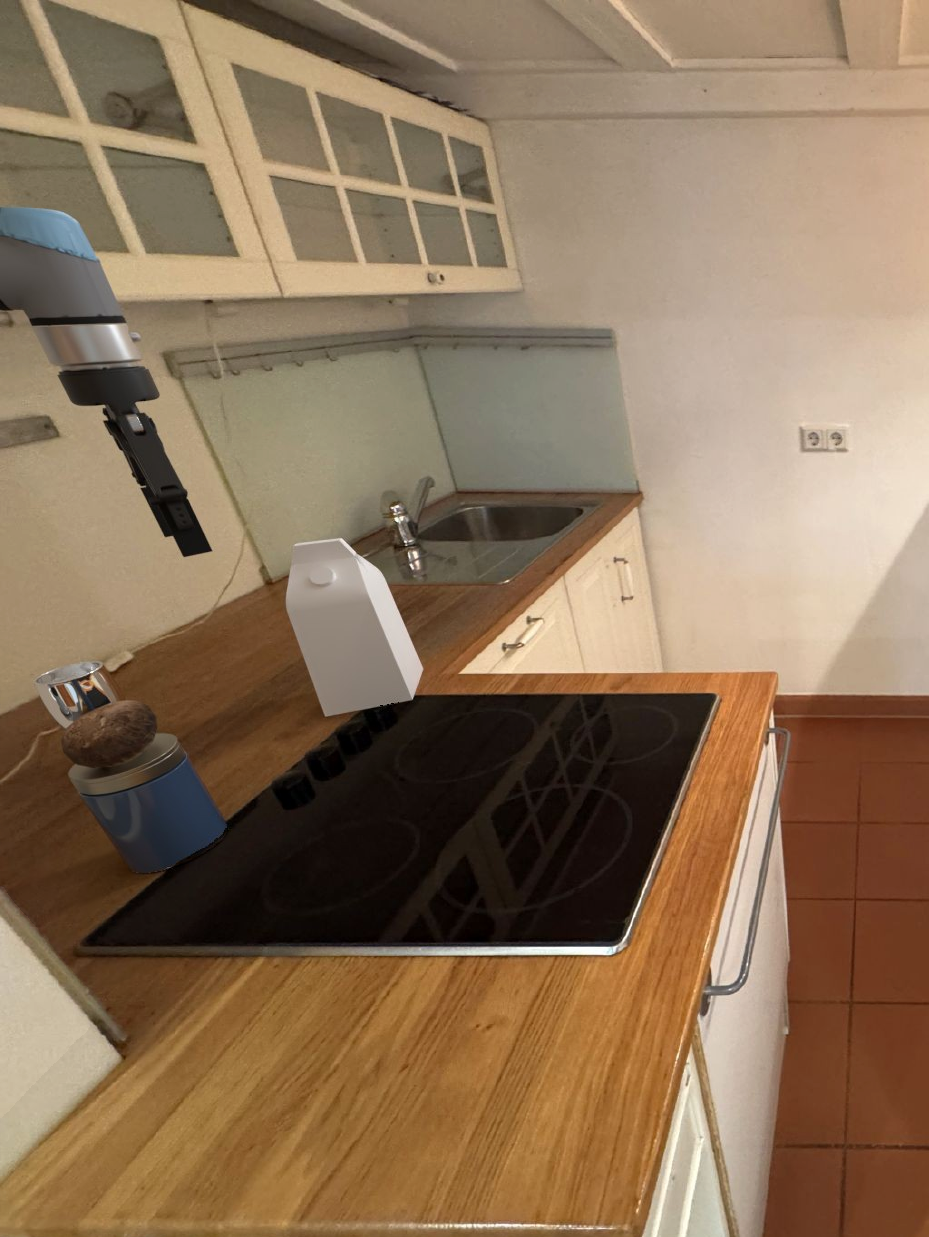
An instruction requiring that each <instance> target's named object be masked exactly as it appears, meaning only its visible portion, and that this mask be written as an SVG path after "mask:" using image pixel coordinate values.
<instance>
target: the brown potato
mask: <svg viewBox="0 0 929 1237" xmlns="http://www.w3.org/2000/svg"><path fill="white" fill-rule="evenodd" d="M157 730H158V721H157V715H156V714H155V712H154V711H153V710H152V709H151V707H150V706H149V705H147V704H145V703H143V702H140V701H137V700H134V699H126V700H125V701H117V702H112V703H109V704H107V705H104V706H102V707H99V708H97V709H95V710H93V711H91V712H88V713H86V714H84V715H82V716H80V717H78V718H77V719H76V720H75V721H74V722H73V723H72V724H70V725H69V726H68V727H67V728H66V730H64V732H63V734H62V736H61V740H60V741H61V742H60V743H61V747H62V752H63V754H64V755H65V756H66V757H67V758H68V759H69V760H70V761H71V762H72V763H74V765H75V764H77V765H80V766H85V767H90V768H104V767H112V766H115V765H119V764H122V763H125V762H128V761H131V760H132V759H134V758H135V757H137V756H139V755H140V754H142V753H143V752H144V751H145V750H146V749H147V748H148V747H149V746H150V744H151V743H152V742H153V741H154V738H155V734H157Z"/></svg>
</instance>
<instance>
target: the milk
mask: <svg viewBox="0 0 929 1237" xmlns="http://www.w3.org/2000/svg"><path fill="white" fill-rule="evenodd" d="M290 564H291V565H290V569H289V575H288V580H287V588H286V594H285V608H286V609H285V610H286V612H287V615H288V618H289V621H290V625H291V626H292V630H293V632H294V635H295V638H296V640H297V644H298V646H299V649H300V651H301V655H302V657H303V659H304V662H305V665H306V668H307V672H308V673H309V676H310V679H311V682H312V685H313V687H314V688H313V689H314V691H315V693H316V696H317V698H318V701H319V705H320V707H321V709H322V713H323V715H324V717H325V718H326V717H333V716H336V715H342V714H347V713H352V712H357V711H363V710H368V709H372V708H378V707H381V706H380V705H383V706H388V705H387V704H389V705H392V704H391V703H394V704H399V703H403V702H408V701H409V702H410V701H413V700H414V697H415V695H416V692H417V689H418V687H419V683H420V680H421V677H422V674H423V671H424V666H423V664H422V662H421V660H420V658H419V656H418V653H417V651H416V648H415V646H414V644H413V641H412V639H411V637H410V634H409V631H408V630H407V627H406V625H405V623H404V620H403V618H402V615H401V613H400V611H399V608H398V606H397V603H396V601H395V599H394V597H393V594H392V592H391V589H390V588H389V585H388V583H387V579H386V578H385V576H384V574H383V573H382V571H381V570H380V569H379V568H378V567H377V566H375V565H374V564H372V563H371V562H370V561H368V560H367V559H366V558H364V557H362V556H361V555H359V554H358V553H357V552H356V551H355V550H354V549H353V548H352V547H351V545H350V544H349V543H347V542H346V541H345V540H344V539H343V538H342V537H338V538H331V539H329V538H328V539H322V540H321V539H320V540H314V541H313V540H312V541H305V542H297V543H295V544H293V546H292V553H291V563H290ZM398 702H399V703H398Z"/></svg>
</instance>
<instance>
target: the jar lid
mask: <svg viewBox="0 0 929 1237" xmlns="http://www.w3.org/2000/svg"><path fill="white" fill-rule="evenodd" d="M184 751H185V749H184V747H183V746H182V744H181V743H180V740H179V739H178V737H177V736H175V735H174V734H172V733H165V732H163V733H160V732H159V733H156V734H155V738H154V741H153V742H152V743H151V744H150V746H149V747H148V748H147V749H146V750H145V751H144V752H143V753H142V754H140V755H139V756H137V757H135V758H134V759H132V760H131V761H128V762H125V763H122V764H119V765H115V766H112V767H104V768H90V767H85V766H80V765H77V764H75V763H74V764H73V765H72V766H71V767H70V769H69V770H68V772H67V774H68V777H69V781H70V782H71V783H72V785H73V786H74V788H75V789H76V790H77V792H78V791H79V792H81V793H83V794H87V795H99V794H107V793H112V792H117V791H121V790H125V789H128V788H131V787H134V786H137V785H140V784H143V783H145V782H148V781H150V780H152V779H154V778H156V777H158V776H160V775H162V774H164V773H166V772H168V771H169V770H171V769H172V768H174V767H175V766H176V765H177V764H179V763H180V762H181V760H182V759H183V758H184V755H185V752H186V751H185V752H184Z"/></svg>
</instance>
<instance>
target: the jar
mask: <svg viewBox="0 0 929 1237" xmlns="http://www.w3.org/2000/svg"><path fill="white" fill-rule="evenodd" d="M184 752H185V755H184V758H183V759H182V760H181V762H180V763H179V764H177V765H176V766H175V767H174V768H172V769H171V770H169V771H168V772H166V773H164V774H162V775H160V776H158V777H156V778H154V779H152V780H150V781H148V782H145V783H143V784H140V785H137V786H134V787H131V788H128V789H125V790H121V791H117V792H112V793H107V794H99V795H87V794H83V793H81V792H79V791H78V790H77V793H78V795H79V796H80V798H81V799H82V801H83V802H84V804H85V805H86V807H87V808H88V810H89V812H90V813H91V815H92V816H93V817H94V819H95V820H96V822H97V823H98V825H99V826H100V828H101V829H102V831H103V832H104V834H105V835H106V836H107V838H108V840H109V842H111V844H112V846H113V847H114V848H115V850H116V852H117V853H118V854H119V856H120V858H121V859H122V860H123V862H124V863H125V865H126V867H127V868H128V870H130V871H131V870H132V871H134V872H133V873H135V872H138V873H137V874H140V873H149V872H150V873H149V874H152V873H151V872H155V871H161V870H164V869H166V868H167V867H171V866H173V865H174V864H176V862H178V861H180V860H182V859H183V858H186V857H188V856H190V855H191V854H193V853H195V852H196V851H198V850H200V849H202V848H205V847H206V846H208V845H209V844H210V843H212V842H214V840H215V839H216V838H219V837H220V836H221V835H222V834H223V832H224V830H225V828H227V825H228V823H227V821H226V819H225V818H224V816H223V814H222V813H221V811H220V809H219V807H218V805H217V804H216V801H215V800H214V798H213V796H212V795H211V793H210V791H209V790H208V787H207V786H206V784H205V782H204V781H203V779H202V777H201V775H200V774H199V771H198V770H197V768H196V767H195V765H194V763H193V761H192V760H191V758H190V756H189V755H188V753H187V751H186V750H184ZM226 823H227V824H226ZM132 871H131V872H132ZM161 872H162V871H161Z"/></svg>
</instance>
